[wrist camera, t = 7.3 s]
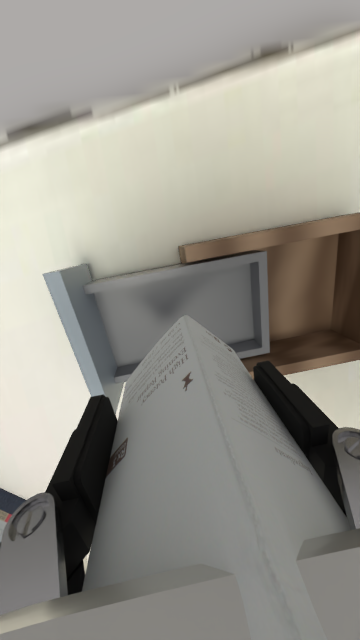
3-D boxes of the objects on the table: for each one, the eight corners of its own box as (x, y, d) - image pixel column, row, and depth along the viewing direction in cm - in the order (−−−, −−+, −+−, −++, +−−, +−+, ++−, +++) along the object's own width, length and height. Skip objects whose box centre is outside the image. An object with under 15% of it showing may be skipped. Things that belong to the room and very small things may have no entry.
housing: (343, 215, 23) (404, 205, 17) (333, 333, 27) (378, 355, 22) (178, 246, 22) (184, 246, 17) (197, 360, 27) (207, 390, 21)
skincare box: (182, 309, 12) (527, 1275, 1) (237, 350, 13) (676, 947, 2) (122, 383, 13) (-84, 1153, 2) (177, 414, 15) (239, 999, 3)
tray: (253, 232, 21) (286, 228, 15) (259, 353, 26) (286, 384, 20) (74, 266, 21) (42, 274, 15) (114, 382, 26) (101, 422, 20)
